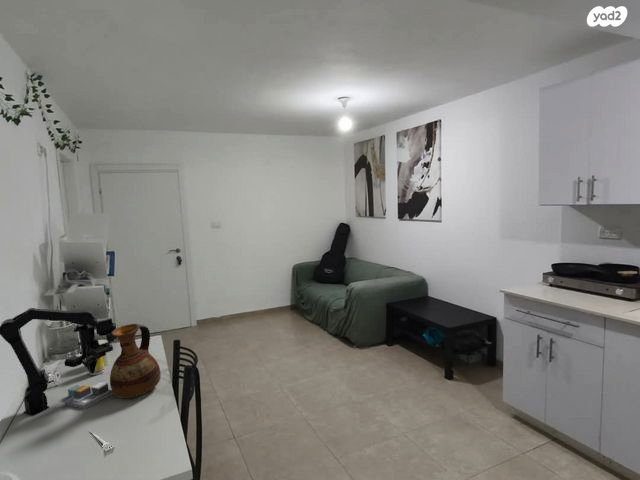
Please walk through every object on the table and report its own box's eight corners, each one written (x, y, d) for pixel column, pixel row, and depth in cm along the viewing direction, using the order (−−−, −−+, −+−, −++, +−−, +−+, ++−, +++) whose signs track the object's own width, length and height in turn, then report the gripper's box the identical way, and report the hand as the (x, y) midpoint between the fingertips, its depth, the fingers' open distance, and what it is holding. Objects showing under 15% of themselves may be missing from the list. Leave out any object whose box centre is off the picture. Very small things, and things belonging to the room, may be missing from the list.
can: (91, 362, 202) (88, 341, 201) (110, 359, 206) (108, 337, 204) (88, 369, 194) (86, 346, 192) (109, 365, 197) (106, 343, 196)
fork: (94, 430, 141) (93, 426, 141) (118, 450, 128) (117, 444, 128) (84, 435, 138) (84, 430, 138) (107, 455, 126) (107, 450, 125)
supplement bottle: (107, 369, 192) (104, 345, 191) (98, 375, 186) (95, 350, 184) (95, 369, 193) (92, 345, 192) (85, 375, 186) (82, 350, 185)
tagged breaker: (81, 399, 160) (80, 391, 159) (74, 397, 161) (73, 389, 161) (91, 393, 164) (90, 386, 164) (84, 392, 166) (83, 384, 165)
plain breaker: (99, 395, 162) (98, 388, 161) (92, 394, 163) (91, 386, 163) (108, 390, 166) (107, 383, 166) (102, 389, 167) (101, 381, 167)
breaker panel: (84, 409, 155) (84, 404, 155) (64, 404, 160) (64, 399, 159) (112, 393, 167) (112, 388, 167) (93, 389, 172) (93, 385, 171)
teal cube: (74, 398, 165) (73, 390, 164) (68, 397, 166) (67, 389, 166) (83, 393, 168) (82, 386, 168) (77, 392, 170) (76, 385, 169)
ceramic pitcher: (100, 399, 162) (92, 331, 159) (136, 377, 181) (129, 316, 178) (138, 404, 156) (130, 334, 153) (171, 381, 175) (164, 318, 172)
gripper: (79, 349, 153) (84, 386, 155) (119, 332, 170) (123, 366, 172) (61, 346, 157) (66, 382, 159) (102, 330, 175) (106, 363, 176)
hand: (92, 373), depth 167 cm, fingers closed
